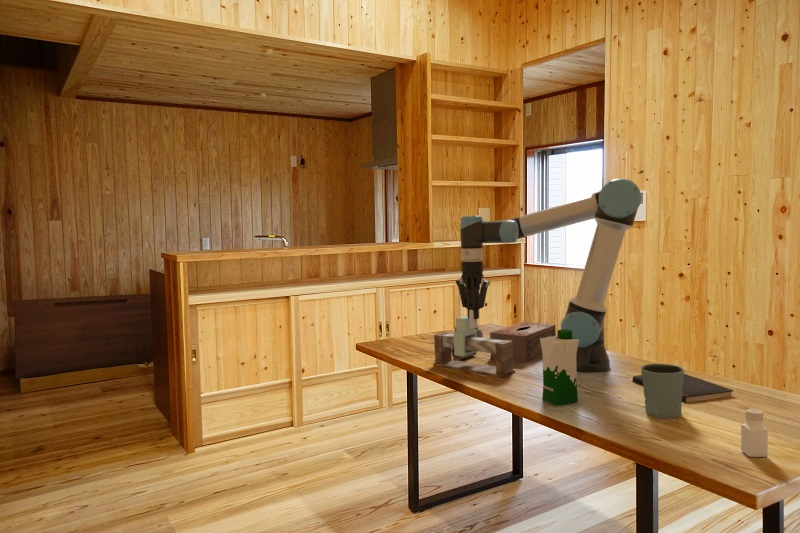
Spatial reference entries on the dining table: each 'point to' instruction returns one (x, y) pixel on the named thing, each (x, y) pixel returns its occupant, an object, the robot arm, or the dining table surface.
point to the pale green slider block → (462, 336)
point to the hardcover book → (696, 389)
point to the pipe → (461, 356)
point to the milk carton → (560, 368)
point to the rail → (476, 368)
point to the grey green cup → (663, 389)
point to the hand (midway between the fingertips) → (473, 328)
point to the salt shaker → (754, 434)
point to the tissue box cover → (525, 339)
